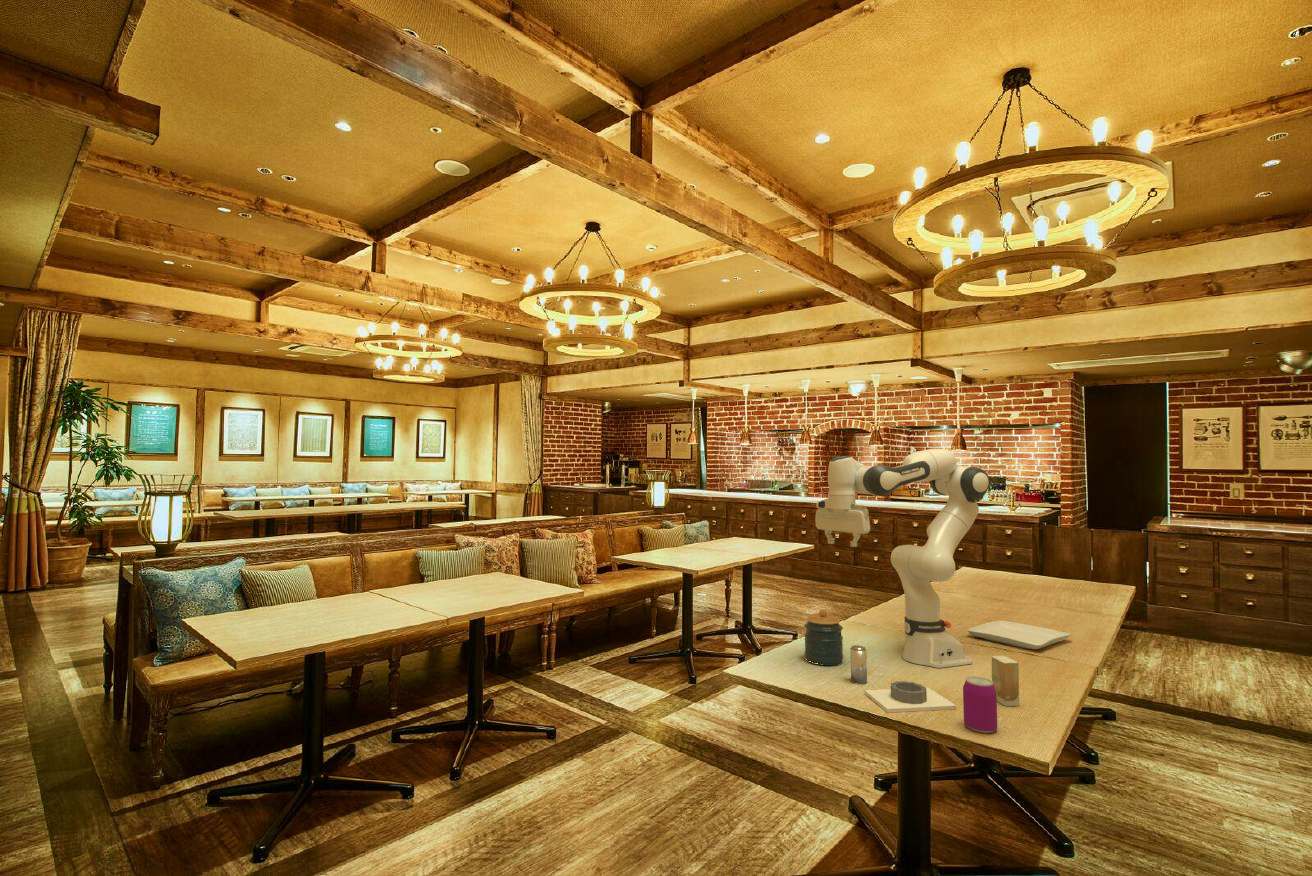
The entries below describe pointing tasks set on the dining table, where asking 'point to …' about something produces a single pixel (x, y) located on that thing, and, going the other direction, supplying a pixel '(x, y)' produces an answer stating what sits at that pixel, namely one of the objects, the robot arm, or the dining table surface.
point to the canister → (823, 639)
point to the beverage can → (980, 704)
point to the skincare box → (1006, 680)
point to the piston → (858, 664)
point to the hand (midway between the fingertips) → (842, 545)
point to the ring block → (909, 698)
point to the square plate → (1018, 634)
